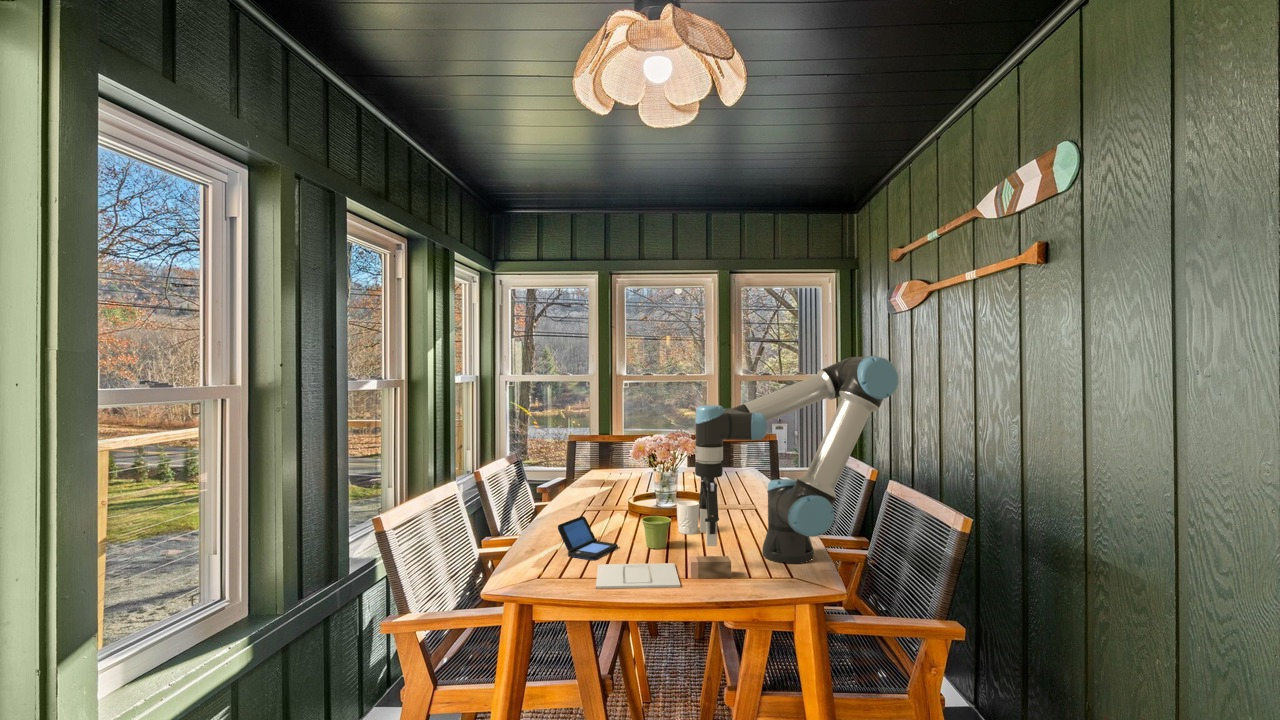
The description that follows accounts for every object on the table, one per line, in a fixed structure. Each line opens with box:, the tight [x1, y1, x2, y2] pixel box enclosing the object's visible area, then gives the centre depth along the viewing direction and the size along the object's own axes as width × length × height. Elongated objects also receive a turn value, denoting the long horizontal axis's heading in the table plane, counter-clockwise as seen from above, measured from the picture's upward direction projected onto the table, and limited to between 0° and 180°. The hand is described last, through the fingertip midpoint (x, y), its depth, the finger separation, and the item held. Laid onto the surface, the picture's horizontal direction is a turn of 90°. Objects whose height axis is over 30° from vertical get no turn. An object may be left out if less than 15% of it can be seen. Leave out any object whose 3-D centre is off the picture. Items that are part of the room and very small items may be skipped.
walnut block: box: [688, 555, 732, 580], centre depth 176 cm, size 11×5×4 cm, turn 92°
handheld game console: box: [557, 515, 618, 561], centre depth 199 cm, size 16×13×9 cm
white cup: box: [676, 500, 700, 535], centre depth 221 cm, size 8×8×10 cm
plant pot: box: [641, 515, 672, 550], centre depth 203 cm, size 9×9×9 cm
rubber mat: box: [595, 562, 681, 589], centre depth 175 cm, size 22×18×1 cm
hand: (708, 538), depth 176 cm, fingers open, 13 cm apart
